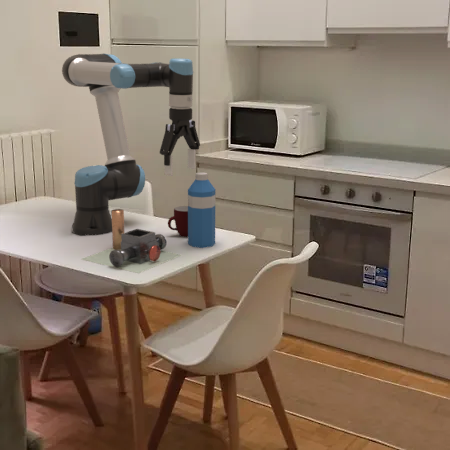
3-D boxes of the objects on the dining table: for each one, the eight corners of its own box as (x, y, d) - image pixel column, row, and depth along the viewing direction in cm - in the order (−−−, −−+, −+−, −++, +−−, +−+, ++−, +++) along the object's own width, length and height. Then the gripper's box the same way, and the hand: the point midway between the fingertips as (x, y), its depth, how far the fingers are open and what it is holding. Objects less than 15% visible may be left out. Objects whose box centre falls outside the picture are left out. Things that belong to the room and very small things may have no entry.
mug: (174, 240, 242) (174, 213, 239) (164, 235, 248) (163, 208, 245) (200, 236, 247) (200, 209, 244) (189, 231, 254) (189, 204, 251)
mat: (80, 260, 220) (80, 259, 220) (126, 243, 237) (126, 242, 237) (138, 274, 207) (138, 273, 207) (182, 256, 225) (182, 254, 225)
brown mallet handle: (110, 248, 231) (108, 210, 227) (118, 245, 234) (117, 208, 231) (119, 250, 229) (118, 212, 225) (127, 247, 232) (126, 210, 229)
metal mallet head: (106, 265, 214) (105, 239, 212) (151, 248, 232) (150, 223, 229) (132, 271, 208) (132, 245, 206) (176, 253, 226) (176, 228, 224)
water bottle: (187, 241, 241) (187, 171, 235) (214, 240, 242) (214, 170, 236) (188, 249, 232) (188, 176, 226) (216, 248, 233) (216, 176, 227)
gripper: (168, 112, 211) (168, 179, 217) (210, 105, 232) (209, 167, 238) (148, 110, 215) (148, 176, 221) (192, 103, 235) (191, 164, 241)
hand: (180, 171), depth 229 cm, fingers open, 13 cm apart
